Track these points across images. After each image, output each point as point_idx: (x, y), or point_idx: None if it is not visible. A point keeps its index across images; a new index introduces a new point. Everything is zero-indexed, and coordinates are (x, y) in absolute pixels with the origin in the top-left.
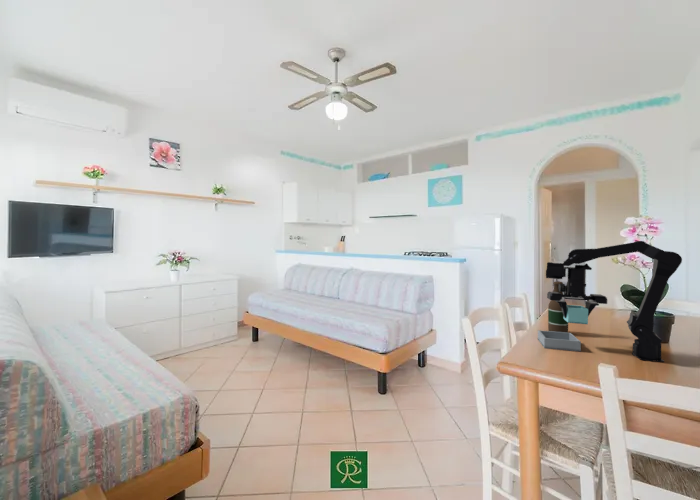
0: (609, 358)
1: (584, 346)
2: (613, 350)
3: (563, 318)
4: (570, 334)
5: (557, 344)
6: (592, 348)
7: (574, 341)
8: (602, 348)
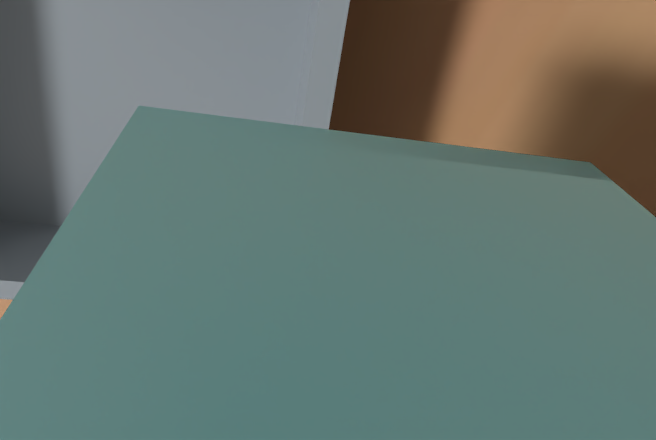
0: None
1: (433, 66)
2: (651, 149)
3: (136, 110)
4: (317, 13)
5: None
6: (478, 124)
7: None
8: (590, 103)
